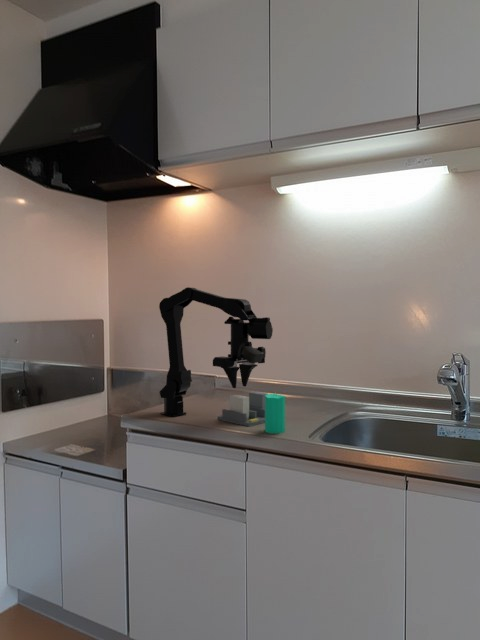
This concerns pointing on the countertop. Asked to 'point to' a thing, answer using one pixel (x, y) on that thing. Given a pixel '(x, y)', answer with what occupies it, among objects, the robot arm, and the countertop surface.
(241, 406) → the block
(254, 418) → the rack
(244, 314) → the robot arm
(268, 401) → the candle
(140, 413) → the countertop surface
